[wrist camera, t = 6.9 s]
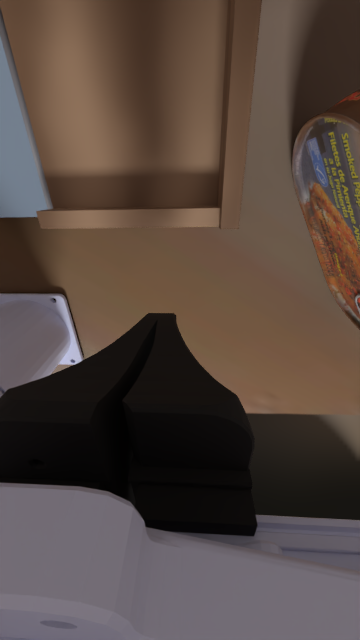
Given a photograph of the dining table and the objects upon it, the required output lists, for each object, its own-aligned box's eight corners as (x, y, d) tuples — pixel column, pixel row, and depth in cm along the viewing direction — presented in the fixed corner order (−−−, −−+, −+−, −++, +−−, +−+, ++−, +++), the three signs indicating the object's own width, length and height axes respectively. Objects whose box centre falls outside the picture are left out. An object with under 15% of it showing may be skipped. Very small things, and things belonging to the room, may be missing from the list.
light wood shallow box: (70, 220, 18) (31, 231, 14) (-5, -100, 11) (-135, -288, 7) (227, 218, 17) (238, 229, 13) (253, -124, 10) (297, -349, 6)
